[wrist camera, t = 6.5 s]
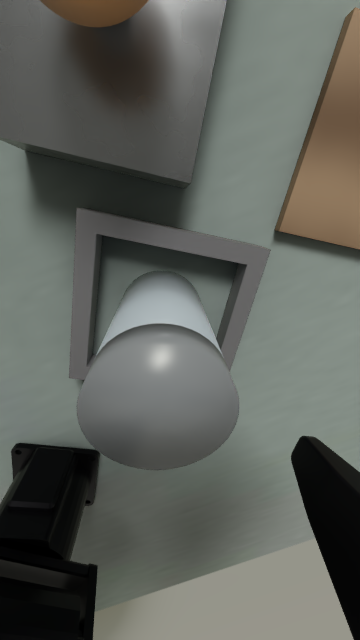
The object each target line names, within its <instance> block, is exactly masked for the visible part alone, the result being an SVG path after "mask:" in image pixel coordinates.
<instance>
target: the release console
mask: <svg viewBox="0 0 360 640" xmlns="http://www.w3.org/2000/svg"><path fill="white" fill-rule="evenodd" d="M226 2H227V0H148V2H147V3H146V4H145V5H144V6H143V7H142V8H141V9H140V10H139V11H138V12H137V13H135V14H134V15H133V16H132V17H130V18H129V19H127V20H125V21H123V22H121V23H118V24H115V25H112V26H107V27H87V26H83V25H78V24H76V23H73V22H71V21H68V20H66V19H64V18H62V17H61V16H59V15H57V14H56V13H54V12H53V11H52V10H50V9H49V8H48V7H46V6H45V5H44V4H43V3H42V2H41V1H40V0H0V140H2V141H4V142H7V143H9V144H11V145H14V146H16V147H18V148H21V149H23V150H26V151H30V152H34V153H38V154H43V155H47V156H51V157H55V158H59V159H63V160H68V161H72V162H76V163H80V164H84V165H88V166H93V167H97V168H101V169H105V170H109V171H114V172H118V173H122V174H126V175H130V176H134V177H139V178H143V179H147V180H151V181H155V182H159V183H164V184H168V185H172V186H176V187H180V188H184V189H185V188H186V187H187V186H188V185H189V184H190V183H191V179H192V174H193V168H194V163H195V158H196V153H197V148H198V143H199V138H200V133H201V128H202V123H203V118H204V113H205V108H206V103H207V98H208V93H209V88H210V83H211V78H212V73H213V68H214V62H215V57H216V52H217V47H218V42H219V37H220V32H221V27H222V22H223V17H224V12H225V7H226Z"/></svg>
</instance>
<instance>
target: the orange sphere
mask: <svg viewBox="0 0 360 640" xmlns="http://www.w3.org/2000/svg"><path fill="white" fill-rule="evenodd" d="M40 1H41V2H42V3H43V4H44V5H45V6H46V7H48V8H49V9H50V10H52V11H53V12H54V13H56V14H57V15H59V16H61V17H62V18H64V19H66V20H68V21H71V22H73V23H76V24H78V25H83V26H87V27H107V26H112V25H115V24H118V23H121V22H123V21H125V20H127V19H129V18H130V17H132V16H133V15H134V14H135V13H137V12H138V11H139V10H140V9H141V8H142V7H143V6H144V5H145V4H146V3H147V2H148V0H40Z"/></svg>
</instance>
